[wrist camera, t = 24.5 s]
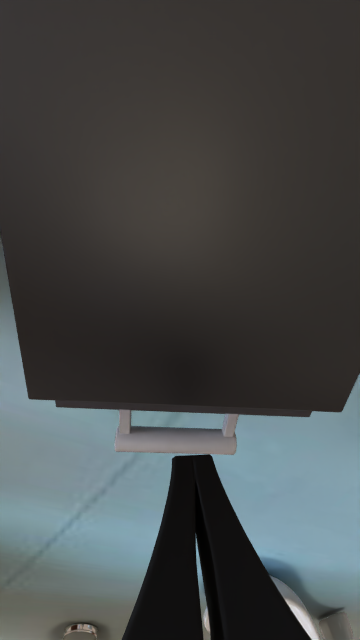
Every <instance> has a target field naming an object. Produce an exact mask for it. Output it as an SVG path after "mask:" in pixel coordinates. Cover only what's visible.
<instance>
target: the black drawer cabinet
mask: <svg viewBox="0 0 360 640" xmlns="http://www.w3.org/2000/svg"><path fill="white" fill-rule="evenodd" d="M0 233H1V239H2V245H3V251H4V257H5V263H6V269H7V274H8V280H9V286H10V292H11V298H12V304H13V310H14V316H15V321H16V327H17V333H18V339H19V345H20V351H21V357H22V362H23V368H24V374H25V380H26V386H27V392H28V398H29V399H36V400H60V401H84V402H108V403H132V404H156V405H180V406H203V407H227V408H251V409H275V410H299V411H323V412H342V410H343V408H344V406H345V404H346V402H347V399H348V397H349V395H350V393H351V391H352V388H353V386H354V384H355V382H356V380H357V377H358V375H359V373H360V0H0Z"/></svg>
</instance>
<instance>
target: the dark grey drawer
mask: <svg viewBox="0 0 360 640" xmlns="http://www.w3.org/2000/svg"><path fill="white" fill-rule="evenodd" d="M55 403H56V407H65V408H90V409H115V410H119V426H118V427H117V430H116V436H115V451H116V452H150V453H187V454H223V455H234V454H235V452H236V447H237V441H236V435H235V428H236V424H237V420H238V416H239V414H241V415H266V416H291V417H310V415H311V412H312V411H299V410H275V409H251V408H227V407H203V406H180V405H156V404H132V403H108V402H84V401H60V400H55ZM131 410H141V411H166V412H191V413H216V414H225V418H224V423H223V427H222V429H201V428H173V427H144V426H131Z"/></svg>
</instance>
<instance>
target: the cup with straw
mask: <svg viewBox="0 0 360 640" xmlns="http://www.w3.org/2000/svg"><path fill="white" fill-rule="evenodd" d="M97 633H98V629H97V628H96V627H95V626H93V625H90V624H73V625H70V626H68V627H66V628H65V631H64V637H63V640H97V638H96V637H97V636H96V635H97Z"/></svg>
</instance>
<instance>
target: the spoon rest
mask: <svg viewBox="0 0 360 640" xmlns="http://www.w3.org/2000/svg"><path fill="white" fill-rule="evenodd" d="M270 577H271V579H272V580H273V582H274V583H275V585H276V587H277V588H278V590H279V592H280V593H281V595H282V596H283V598H284V599H285V601H286V602H287V604H288V606H289V607H290V609H291V610H292V612H293V613H294V615H295V616H296V618H297V619H298V621H299V622H300V624H301V625H302V626H303V628H304V629H305V631H306V632H307V634H308V635H309V637H310V638H311V639H312V640H321V639H320V636H319V634H318V631H317V629H316V626H315V624H314V622H313V620H312V618H311V616H310V614H309V612H308V611H307V609H306V608H305V606H304V604H303V603H302V601H301V600H300V599H299V597H298V596H297V595H296V594H295V593H294V592H293V590H292V589H291V588H289V587H288V586H287V585H286V584H285V583H283V582H282V581H280V580H279V579H277V578H275V577H272V576H271V575H270ZM203 621H204V625H205V627H206V629H207V630H208V632H209V633H210V625H209V617H208V609H207V607H206V610H205V613H204V618H203ZM319 627H320V630H321V633H322V636H323V639H324V640H354V637H353V632H352V629H351V625H350V622H349V619H348V616H347V614H346V613H345V612H340V613H336V614H333V615H331V616H329V617H328V618H325V619H323V620H321V621H320V622H319Z"/></svg>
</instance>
